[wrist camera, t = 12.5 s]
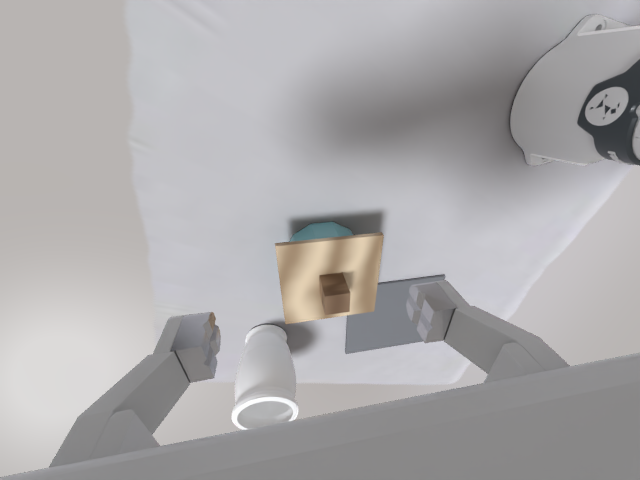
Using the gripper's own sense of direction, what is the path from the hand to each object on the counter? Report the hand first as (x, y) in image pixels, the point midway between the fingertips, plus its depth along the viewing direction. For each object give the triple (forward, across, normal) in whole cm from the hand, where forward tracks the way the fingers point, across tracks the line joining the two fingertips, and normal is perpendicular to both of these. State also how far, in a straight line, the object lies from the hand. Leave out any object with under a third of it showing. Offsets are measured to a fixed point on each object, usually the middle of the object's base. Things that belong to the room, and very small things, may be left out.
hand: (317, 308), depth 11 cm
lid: (+23, -5, +18) cm, 29 cm away
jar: (+29, +7, +37) cm, 48 cm away
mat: (+29, -20, +36) cm, 50 cm away
